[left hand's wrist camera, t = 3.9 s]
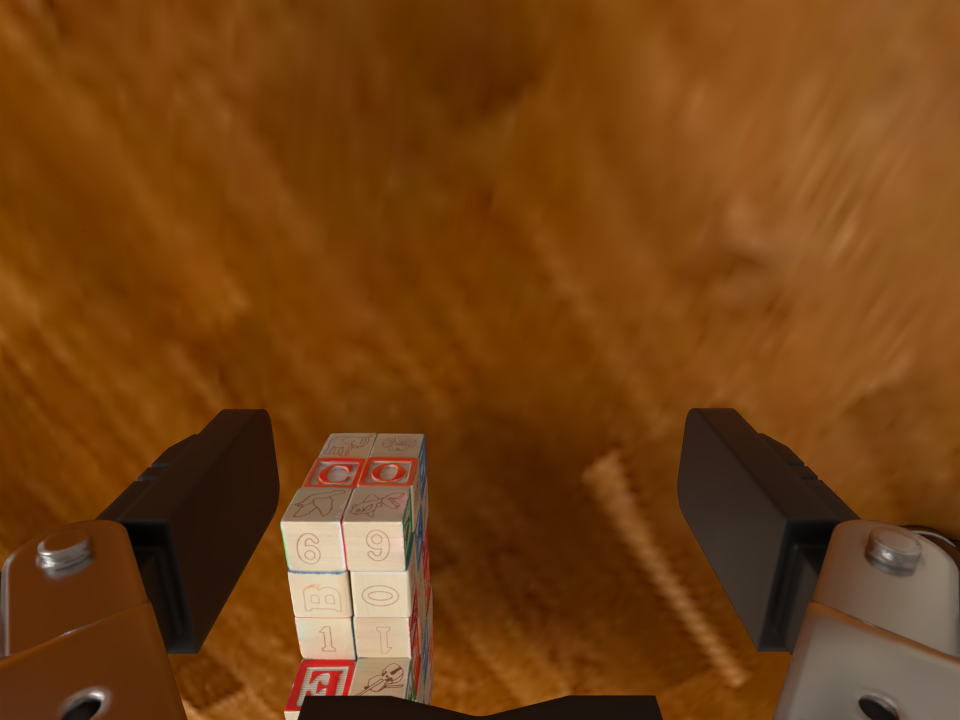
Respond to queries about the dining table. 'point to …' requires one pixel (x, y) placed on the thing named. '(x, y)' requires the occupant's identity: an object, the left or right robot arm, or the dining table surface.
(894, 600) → the left robot arm
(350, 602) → the stack of blocks
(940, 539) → the right robot arm
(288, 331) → the dining table surface
